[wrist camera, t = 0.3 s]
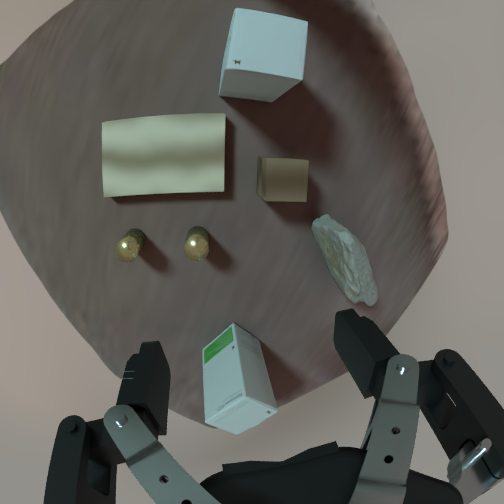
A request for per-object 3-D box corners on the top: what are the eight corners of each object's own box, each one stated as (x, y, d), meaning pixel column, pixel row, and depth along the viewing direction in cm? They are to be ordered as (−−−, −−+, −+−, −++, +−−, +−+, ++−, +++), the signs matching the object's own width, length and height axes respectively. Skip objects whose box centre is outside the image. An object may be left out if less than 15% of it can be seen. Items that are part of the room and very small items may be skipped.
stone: (304, 218, 39) (332, 240, 30) (336, 203, 39) (371, 220, 30) (330, 291, 45) (357, 325, 35) (358, 276, 44) (389, 306, 35)
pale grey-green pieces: (108, 123, 31) (102, 122, 28) (224, 115, 33) (225, 113, 31) (110, 194, 34) (104, 197, 32) (223, 189, 37) (224, 191, 34)
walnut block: (257, 156, 35) (266, 157, 30) (293, 158, 36) (308, 160, 30) (256, 193, 37) (265, 201, 32) (291, 193, 38) (306, 201, 32)
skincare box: (233, 320, 44) (247, 393, 29) (261, 340, 46) (282, 410, 32) (200, 350, 45) (202, 423, 31) (228, 367, 47) (238, 437, 33)
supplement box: (273, 104, 33) (304, 83, 21) (217, 96, 32) (221, 69, 20) (279, 56, 30) (310, 21, 19) (225, 48, 29) (233, 5, 17)
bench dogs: (124, 228, 36) (113, 240, 31) (208, 226, 38) (208, 237, 33) (126, 249, 37) (117, 262, 32) (208, 246, 39) (209, 260, 34)
